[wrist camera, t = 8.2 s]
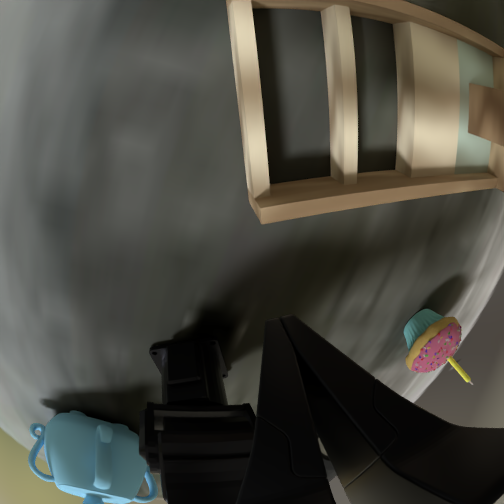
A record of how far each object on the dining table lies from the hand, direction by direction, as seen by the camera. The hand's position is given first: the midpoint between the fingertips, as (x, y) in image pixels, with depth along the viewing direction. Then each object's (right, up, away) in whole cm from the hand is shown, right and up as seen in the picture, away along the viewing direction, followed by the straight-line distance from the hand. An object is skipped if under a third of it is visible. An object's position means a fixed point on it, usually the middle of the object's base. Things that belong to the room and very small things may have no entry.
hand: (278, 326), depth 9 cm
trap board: (+11, +14, +9) cm, 19 cm away
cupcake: (+21, -7, +24) cm, 33 cm away
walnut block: (+19, +15, +8) cm, 26 cm away
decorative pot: (-24, -24, +23) cm, 41 cm away
